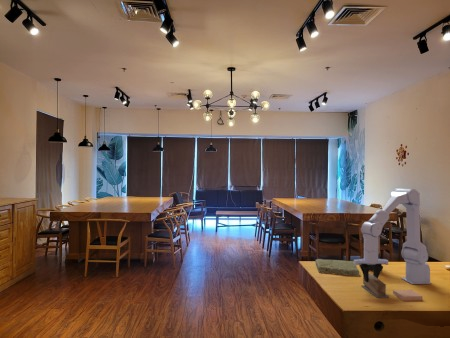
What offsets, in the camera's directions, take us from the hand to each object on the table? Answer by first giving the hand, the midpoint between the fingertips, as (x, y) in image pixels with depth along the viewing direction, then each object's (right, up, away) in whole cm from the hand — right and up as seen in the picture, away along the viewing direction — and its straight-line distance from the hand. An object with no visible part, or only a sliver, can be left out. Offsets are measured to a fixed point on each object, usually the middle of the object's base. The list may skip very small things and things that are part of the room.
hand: (370, 281), depth 141 cm
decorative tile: (-5, -4, +29) cm, 30 cm away
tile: (+11, -3, -5) cm, 12 cm away
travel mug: (+14, -4, +30) cm, 33 cm away
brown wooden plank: (0, -3, -2) cm, 4 cm away
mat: (0, -3, -3) cm, 5 cm away
